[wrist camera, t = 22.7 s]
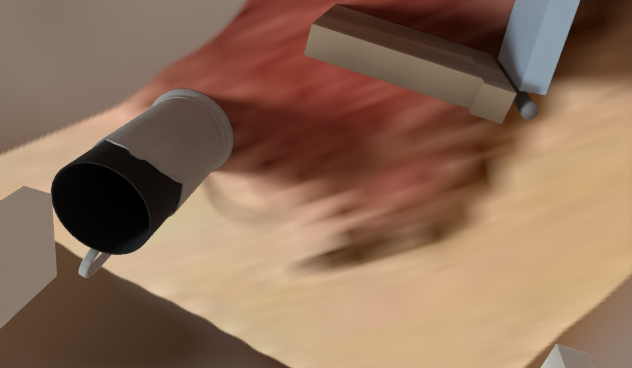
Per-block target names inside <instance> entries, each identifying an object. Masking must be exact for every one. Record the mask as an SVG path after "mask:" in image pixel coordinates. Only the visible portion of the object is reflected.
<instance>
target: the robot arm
mask: <svg viewBox="0 0 632 368" xmlns="http://www.w3.org/2000/svg"><path fill="white" fill-rule="evenodd" d="M56 276H57V270H56V255H55V240H54V225H53V210H52V195H51V194H49V193H46V192H43V191H39V190H36V189H32V188H29V187H26V186H23V187H22V188H20V189H18V190H17V191H15V192H14V193H12V194H10V195H9V196H7V197H6V198H4V199H2V200H1V201H0V328H1V327H2V326H3V325H4V324H6V323H7V322H8V321H9V320H10V319H11V318H12V317H13V316H14V315H15V314H16V313H17V312H18V311H19V310H20V309H22V307H24V306H25V305H26V304H27V303H28V302H29V301H30V300H31V299H32V298H33V297H34V296H35V295H36V294H37V293H39V292H40V291H41V290H42V289H43V288H44V287H45V286H46V285H47V284H48V283H49V282H50V281H51V280H52V279H53V278H55V277H56ZM541 368H594V366H593V363H592V361H591V358H590V356H589V354H588V353H586V352H583V351H580V350H576V349H573V348H570V347H566V346H563V345H559V344H556V345H555V347H554V349H553V350H552V352H551V353H550V355H549V356H548V358H547V359H546V361H545V362H544V364H543V365H542V367H541Z"/></svg>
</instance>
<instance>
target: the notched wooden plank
mask: <svg viewBox="0 0 632 368" xmlns="http://www.w3.org/2000/svg"><path fill="white" fill-rule="evenodd" d="M304 55H306V56H309V57H312V58H315V59H318V60H321V61H324V62H327V63H330V64H333V65H336V66H339V67H342V68H346V69H349V70H352V71H355V72H358V73H361V74H364V75H367V76H370V77H373V78H376V79H379V80H382V81H385V82H388V83H392V84H395V85H398V86H401V87H404V88H407V89H410V90H413V91H416V92H419V93H422V94H425V95H428V96H431V97H434V98H438V99H441V100H444V101H447V102H450V103H453V104H456V105H459V106H462V107H465V108H468V109H469V112H470V114H473V115H476V116H479V117H482V118H485V119H488V120H491V121H494V122H497V123H500V124H502V122H503V120H504V118H505V116H506V114H507V112H508V110H509V108H510V106H511V104H512V102H514V104H515V105H516V107H517V109H518V110H519V112H520V114H521V115H522V117H523V118H525V119H532V118H534V117H535V116H536V115H537V114H538V108H537V106H536V105H535V103H534V102H533V100H532V99H531V98H530V96H529V95H528V94H527V92H525V91H519V89H518V88H517V86H516V85H515V83H514V82H513V81H512V79H511V78H510V76H509V75H508V73H507V72H506V70H505V69H504V67H503V66H501V67H499V66H498V64H497V63H496V61H495V59H494V58H493V56H492V55H491V54H489V53H486V52H483V51H480V50H477V49H474V48H471V47H468V46H464V45H461V44H458V43H455V42H452V41H449V40H446V39H443V38H440V37H436V36H433V35H430V34H427V33H424V32H421V31H418V30H415V29H412V28H408V27H405V26H402V25H399V24H396V23H393V22H390V21H387V20H384V19H380V18H377V17H374V16H371V15H368V14H365V13H362V12H359V11H356V10H352V9H349V8H346V7H343V6H340V5H337V4H335V5H334V6H333V7H332V8H330V9H329V10H328V11H327V12H326V13H324V14H323V15H322V16H321V17H320V18H318V19H317V20H316V21H315V22H313V23H312V26H311V29H310V33H309V37H308V41H307V45H306V49H305V53H304Z"/></svg>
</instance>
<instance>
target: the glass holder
mask: <svg viewBox="0 0 632 368" xmlns="http://www.w3.org/2000/svg"><path fill="white" fill-rule="evenodd" d="M232 148H233V130H232V127H231V124H230V121H229V119H228V117H227V115H226V114H225V112H224V111H223V110H222V108H221V107H220V106H219V105H218V104H217V103H216V102H215V101H214V100H212V99H211V98H209V97H208V96H206V95H204V94H202V93H200V92H197V91H194V90H190V89H175V90H171V91H168V92H166V93H164V94H163V95H161V96H160V97H159V98H158V99H157V100H156V101H155V102H154V103H153V105H152V107H151V108H150V109H148V110H147V111H145V112H144V113H142V114H141V115H139V116H138V117H136V118H134V119H133V120H131V121H130V122H128V123H127V124H125V125H124V126H122V127H120V128H119V129H117V130H116V131H114V132H113V133H111V134H110V135H108V136H106V137H105V138H104V139H102V140H101V141H99V142H98V143H97V144H96V145H95V146H94V147H93V148H92V149H91V150H89V151H88V152H86V153H85V154H83V155H82V156H80V157H79V158H77V159H76V160H74V161H72V162H71V163H69V164H68V165H66V166H65V167H64V168H62V169H61V170H60V171H59V172H58V173H57V174H56V176H55V178H54V180H53V182H52V187H51V195H52V204H53V207H54V210H55V212H56V214H57V216H58V218H59V220H60V222H61V223H62V224H63V226H64V227H65V228H66V229H67V230H68V231H69V233H70V234H71V235H72V236H74V237H75V238H76V239H77V240H78V241H80V242H81V243H83V244H84V245H86V246H88V247H90V248H91V249H90V250H89V251H88V253H87V254H86V256H85V257H84V259H83V261H82V263H81V265H80V268H79V274H80V275H82V276H83V277H85V278H88V277H90V276H91V275H93V274H94V272H96V271H97V270H98V269H99V268H100V267H101V266H102V265H103V263H104V262H105V261H106V260H107V259H108V258H109V257H110V256H111V254H112V255H122V254H128V253H131V252H134V251H136V250H138V249H139V248H141V247H142V246H143V245H144V244H145V243H146V242H147V240H148V239H149V238H150V237H151V236H152V235H153V234H154V232H155V231H156V230H157V229H158V228H159V227H160V226H161V225H162V223H163V222H164V221H165V220H166V219H167V218H168V217H170V216H172V215H173V214H174V213H175V212H176V211H177V210H178V209H179V208H180V207H181V205H182V204H183V203H184V202H185V201H186V200H187V199H188V197H189V196H190V195H191V194H192V193H193V192H194V191H195V189H196V188H197V187H198V186H199V185H200V184H201V183H202V181H203V180H204V179H205V178H206V177H207V176H208V175H209V173H210V172H212V171H215V170H216V169H218V168H220V167H221V166H222V165H223V164H224V163H225V162H226V161H227V159H228V158H229V157H230V154H231V152H232ZM99 252H102V253H101V255H100V256H99V257H98V258H97V259H96V260H95V261H94V259H95V258H96V256H97V255H98V254H99ZM93 261H94V262H93Z"/></svg>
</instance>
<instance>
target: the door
mask: <svg viewBox="0 0 632 368" xmlns="http://www.w3.org/2000/svg"><path fill="white" fill-rule="evenodd" d="M579 2H580V0H515V3H514V6H513V9H512V12H511V16H510V19H509V22H508V26H507V29H506V32H505V36H504V39H503V42H502V45H501V49H500V52H499V55H498V60H499V61H500V63H501V64H502V66H503V67H504V69H505V70H506V72H507V73H508V75H509V76H510V78H511V79H512V81H513V82H514V83H515V85H516V86H517V88H518V89H519V91H525V92H531V93H537V94H543V95H546V93H547V90H548V87H549V85H550V82H551V79H552V76H553V74H554V71H555V68H556V65H557V63H558V60H559V57H560V54H561V52H562V49H563V46H564V43H565V41H566V38H567V35H568V32H569V30H570V27H571V24H572V22H573V19H574V16H575V13H576V11H577V8H578V5H579Z"/></svg>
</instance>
